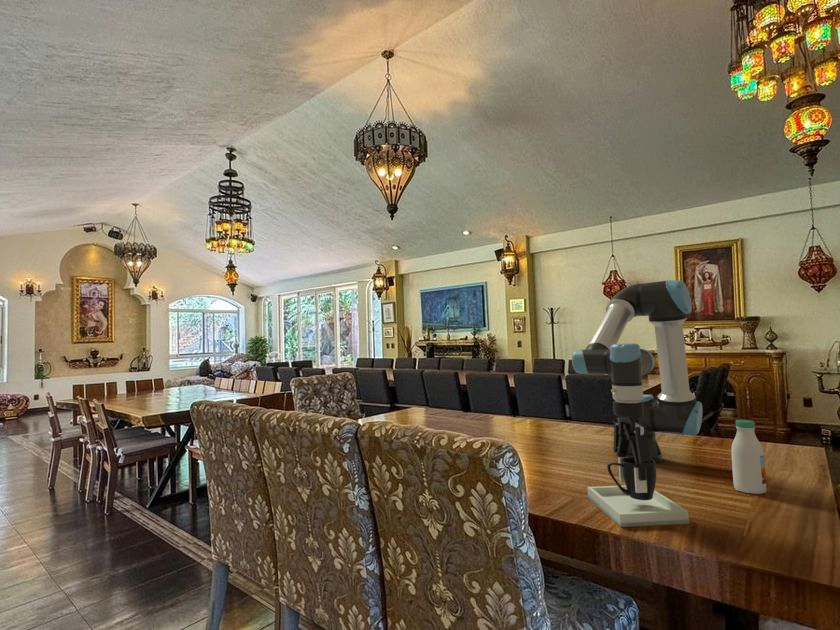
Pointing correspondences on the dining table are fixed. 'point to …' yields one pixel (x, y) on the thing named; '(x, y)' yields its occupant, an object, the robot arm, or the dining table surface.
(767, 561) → the dining table surface
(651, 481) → the mug
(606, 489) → the tray
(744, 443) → the milk bottle
